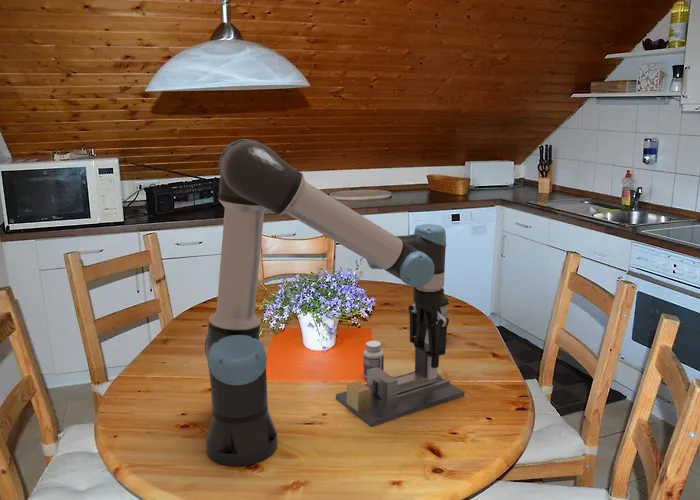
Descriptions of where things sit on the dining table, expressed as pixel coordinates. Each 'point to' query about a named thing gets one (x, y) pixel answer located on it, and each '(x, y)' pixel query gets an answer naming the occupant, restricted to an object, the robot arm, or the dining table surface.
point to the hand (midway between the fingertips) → (426, 374)
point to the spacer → (358, 396)
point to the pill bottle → (373, 356)
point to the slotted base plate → (399, 397)
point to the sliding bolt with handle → (417, 378)
